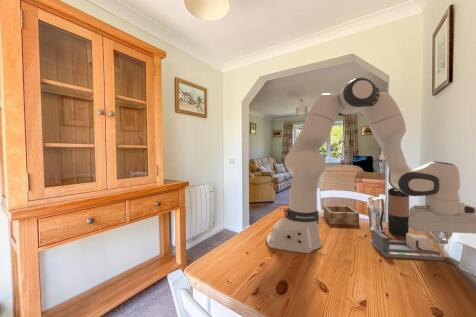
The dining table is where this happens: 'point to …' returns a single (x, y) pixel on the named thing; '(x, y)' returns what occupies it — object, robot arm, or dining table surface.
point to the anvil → (381, 240)
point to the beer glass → (375, 213)
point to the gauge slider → (419, 241)
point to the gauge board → (408, 251)
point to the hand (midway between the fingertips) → (441, 243)
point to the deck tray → (341, 215)
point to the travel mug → (398, 212)
